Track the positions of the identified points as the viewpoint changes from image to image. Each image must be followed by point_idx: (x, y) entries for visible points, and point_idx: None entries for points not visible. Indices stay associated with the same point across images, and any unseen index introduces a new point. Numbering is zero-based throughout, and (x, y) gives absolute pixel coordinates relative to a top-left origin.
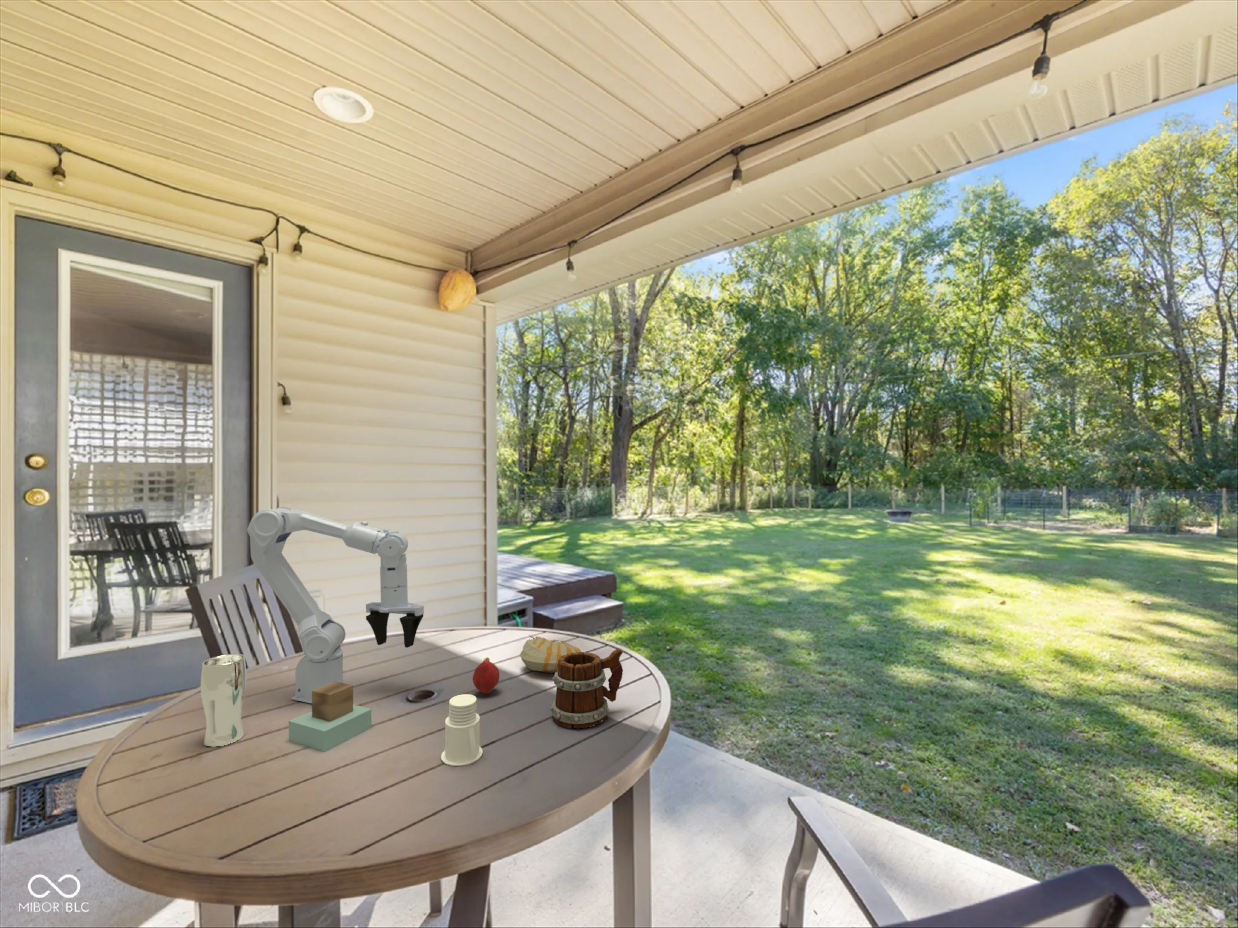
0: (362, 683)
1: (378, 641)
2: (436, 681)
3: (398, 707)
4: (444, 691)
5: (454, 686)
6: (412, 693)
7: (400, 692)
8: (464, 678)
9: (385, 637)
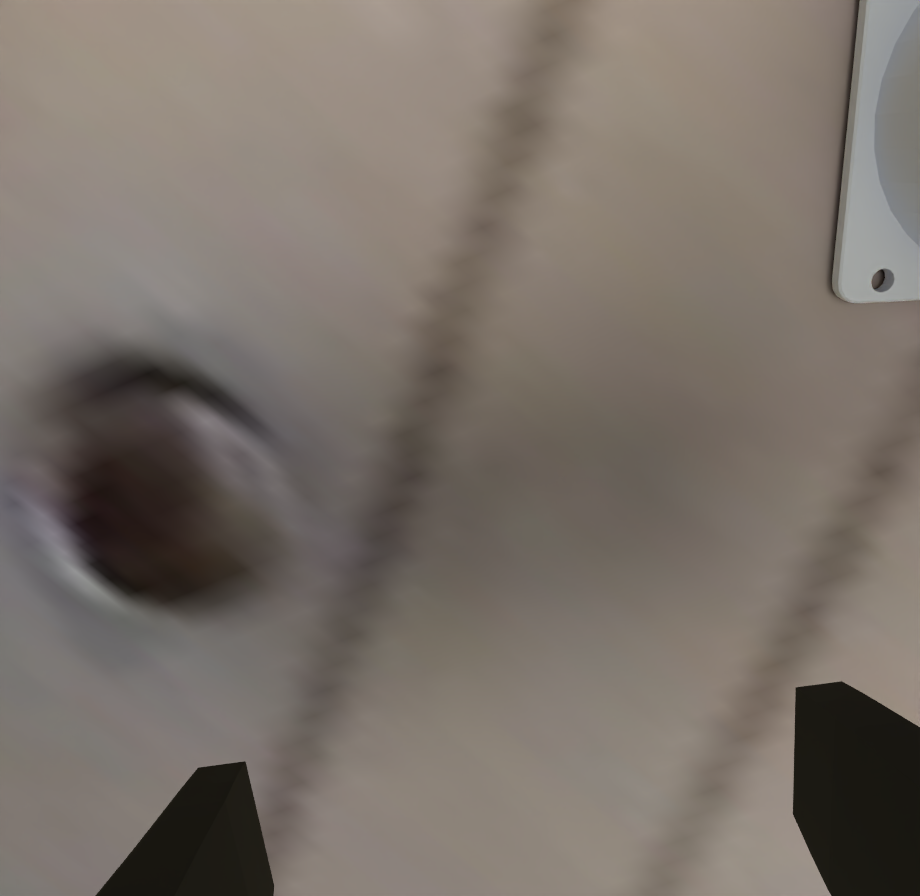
0: (893, 484)
1: (839, 711)
2: (298, 758)
3: (129, 221)
4: (55, 641)
5: (69, 744)
6: (279, 503)
7: (399, 476)
8: None
9: (836, 874)
